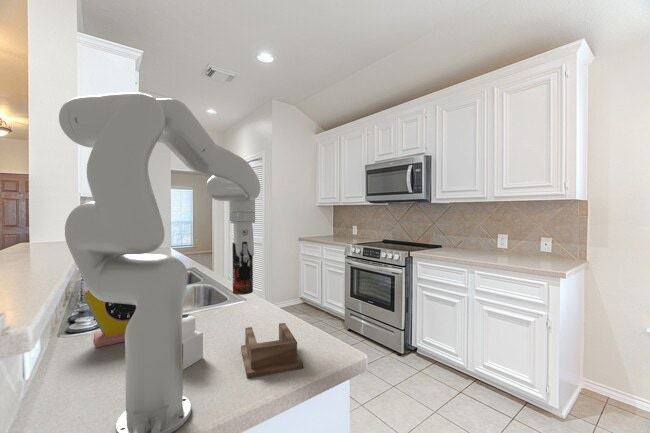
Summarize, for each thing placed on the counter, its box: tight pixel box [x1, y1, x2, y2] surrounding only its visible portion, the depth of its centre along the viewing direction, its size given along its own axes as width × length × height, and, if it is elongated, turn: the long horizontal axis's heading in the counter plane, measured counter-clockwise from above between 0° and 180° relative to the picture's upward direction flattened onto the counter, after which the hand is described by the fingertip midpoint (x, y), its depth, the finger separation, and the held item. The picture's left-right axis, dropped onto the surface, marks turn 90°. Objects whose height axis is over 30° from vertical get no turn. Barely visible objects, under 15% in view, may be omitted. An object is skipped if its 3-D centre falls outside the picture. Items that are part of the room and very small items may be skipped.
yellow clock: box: [82, 287, 136, 349], centre depth 98 cm, size 22×9×22 cm, turn 130°
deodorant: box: [231, 242, 254, 296], centre depth 94 cm, size 6×6×15 cm
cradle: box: [240, 322, 304, 379], centre depth 84 cm, size 16×14×6 cm
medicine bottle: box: [182, 313, 204, 371], centre depth 82 cm, size 7×7×12 cm
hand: (242, 276), depth 94 cm, fingers closed on deodorant, 5 cm apart
